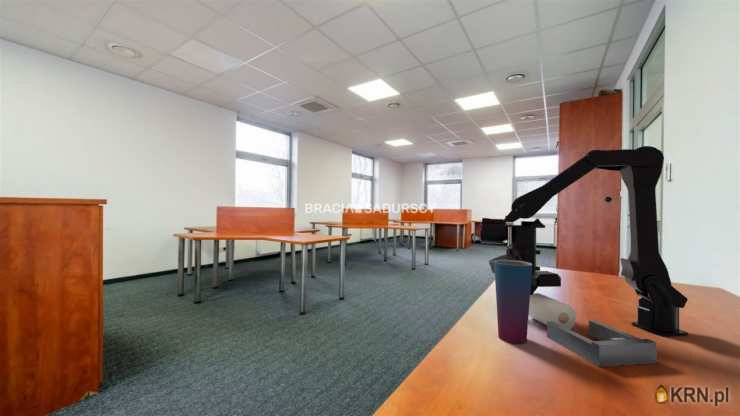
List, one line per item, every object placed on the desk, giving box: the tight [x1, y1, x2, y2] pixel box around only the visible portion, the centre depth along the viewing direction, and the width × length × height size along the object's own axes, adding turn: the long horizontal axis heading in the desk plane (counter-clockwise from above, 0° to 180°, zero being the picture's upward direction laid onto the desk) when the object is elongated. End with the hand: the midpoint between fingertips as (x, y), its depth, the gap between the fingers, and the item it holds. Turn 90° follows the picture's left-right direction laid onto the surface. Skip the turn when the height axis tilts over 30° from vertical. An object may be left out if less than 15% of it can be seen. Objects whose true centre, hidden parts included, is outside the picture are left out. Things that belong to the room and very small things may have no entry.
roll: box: [528, 292, 577, 331], centre depth 65 cm, size 8×6×6 cm
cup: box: [494, 260, 532, 345], centre depth 57 cm, size 7×7×15 cm
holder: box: [546, 319, 658, 368], centre depth 53 cm, size 11×11×4 cm
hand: (523, 306), depth 73 cm, fingers closed
